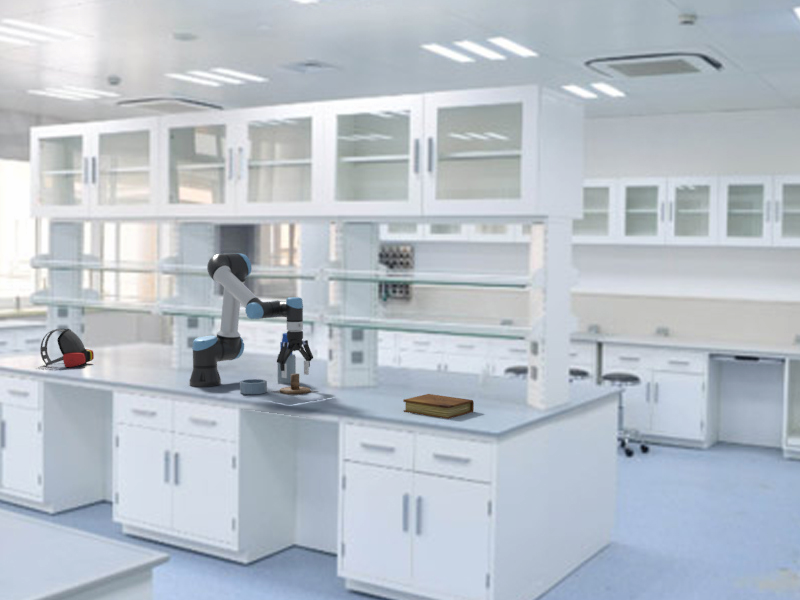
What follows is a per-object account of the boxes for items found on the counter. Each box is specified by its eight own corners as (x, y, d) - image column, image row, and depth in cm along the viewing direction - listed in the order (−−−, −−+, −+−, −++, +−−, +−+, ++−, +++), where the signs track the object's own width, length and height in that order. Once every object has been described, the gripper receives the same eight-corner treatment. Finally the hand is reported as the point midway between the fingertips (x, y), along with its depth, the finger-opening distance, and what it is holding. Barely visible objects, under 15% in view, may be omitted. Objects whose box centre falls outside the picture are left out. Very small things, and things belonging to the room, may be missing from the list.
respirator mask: (84, 363, 497) (64, 322, 496) (46, 382, 499) (26, 341, 498) (99, 358, 519) (80, 318, 518) (63, 376, 521) (43, 336, 520)
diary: (473, 413, 384) (473, 399, 384) (448, 420, 369) (448, 406, 369) (429, 406, 398) (429, 393, 398) (403, 412, 383) (403, 399, 383)
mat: (270, 393, 425) (270, 391, 425) (296, 389, 436) (296, 387, 436) (293, 397, 414) (293, 395, 414) (319, 393, 425) (319, 391, 425)
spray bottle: (278, 382, 457) (278, 332, 455) (296, 382, 457) (296, 332, 455) (276, 385, 448) (276, 334, 446) (294, 385, 448) (294, 334, 446)
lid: (273, 391, 425) (273, 374, 424) (296, 387, 435) (296, 370, 434) (293, 395, 415) (293, 377, 414) (316, 391, 425) (316, 374, 425)
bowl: (234, 394, 422) (234, 381, 421) (255, 390, 431) (255, 378, 430) (251, 397, 414) (250, 384, 413) (271, 394, 423) (271, 381, 422)
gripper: (279, 333, 411) (279, 380, 413) (320, 329, 429) (320, 373, 431) (268, 332, 416) (269, 378, 418) (309, 328, 434) (310, 372, 436)
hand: (295, 376), depth 424 cm, fingers open, 13 cm apart
